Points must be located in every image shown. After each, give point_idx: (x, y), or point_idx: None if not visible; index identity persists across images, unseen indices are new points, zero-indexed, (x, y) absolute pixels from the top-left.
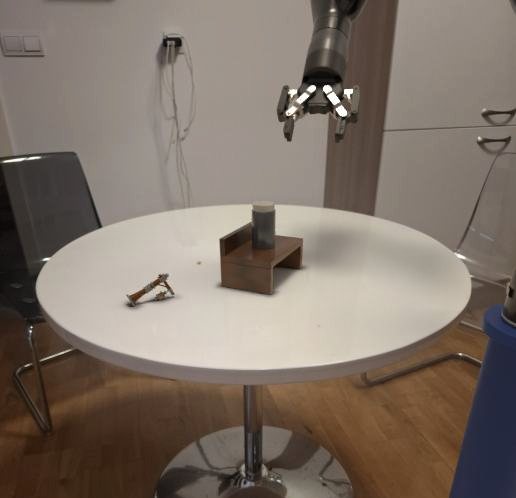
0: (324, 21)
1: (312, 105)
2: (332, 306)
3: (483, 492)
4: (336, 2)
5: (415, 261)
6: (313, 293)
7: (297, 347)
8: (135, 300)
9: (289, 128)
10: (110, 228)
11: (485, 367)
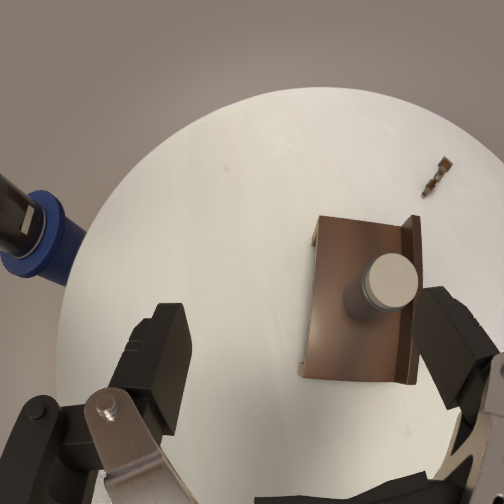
0: None
1: (393, 482)
2: (217, 224)
3: None
4: None
5: None
6: (251, 260)
7: (239, 125)
8: (441, 164)
9: (443, 302)
10: None
11: (79, 237)
